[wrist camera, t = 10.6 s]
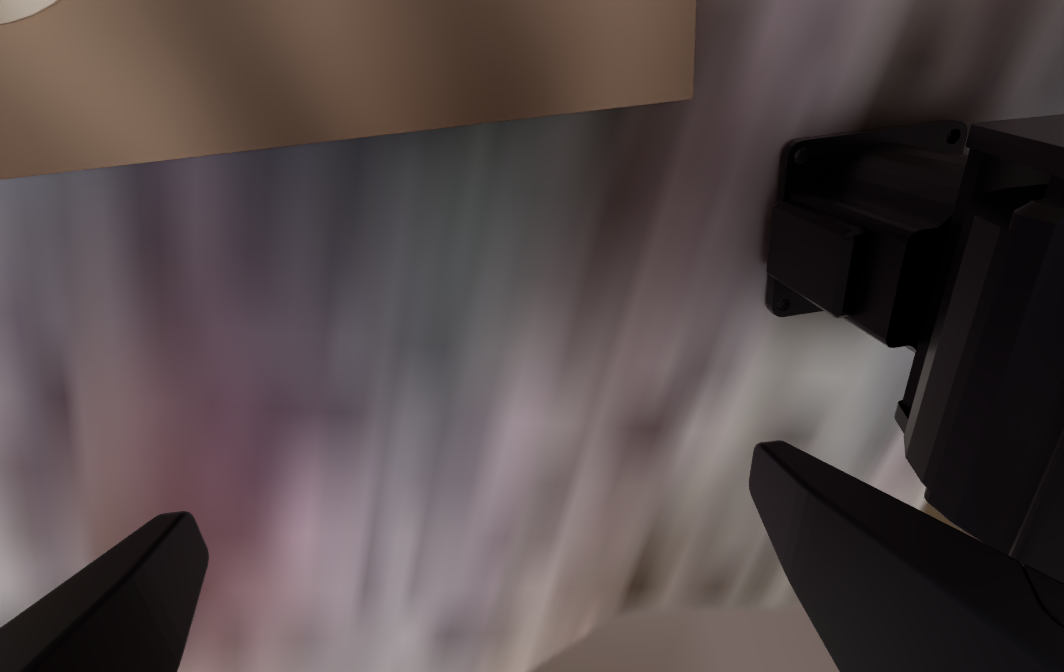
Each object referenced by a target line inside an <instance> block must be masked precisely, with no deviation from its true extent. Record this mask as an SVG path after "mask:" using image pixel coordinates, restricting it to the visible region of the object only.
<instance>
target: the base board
mask: <svg viewBox="0 0 1064 672" xmlns="http://www.w3.org/2000/svg"><path fill="white" fill-rule="evenodd" d="M695 25H696V0H0V179H8V178H17V177H26V176H34V175H43V174H51V173H60V172H69V171H77V170H86V169H94V168H103V167H112V166H120V165H129V164H137V163H146V162H155V161H163V160H172V159H181V158H189V157H198V156H206V155H215V154H224V153H232V152H241V151H249V150H258V149H267V148H275V147H284V146H292V145H301V144H310V143H318V142H327V141H335V140H344V139H353V138H361V137H370V136H379V135H387V134H396V133H404V132H413V131H422V130H430V129H439V128H447V127H456V126H465V125H473V124H482V123H490V122H499V121H508V120H516V119H525V118H533V117H542V116H551V115H559V114H568V113H577V112H585V111H594V110H602V109H611V108H620V107H628V106H637V105H645V104H654V103H663V102H671V101H680V100H688V99H693V88H694V57H695Z"/></svg>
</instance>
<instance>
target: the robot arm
mask: <svg viewBox="0 0 1064 672" xmlns="http://www.w3.org/2000/svg"><path fill="white" fill-rule="evenodd" d="M950 131H951V136H950V138H949V139H948V140H947V139H946V137H947V135H948V133H949V132H950ZM966 137H967V127H966V124H964V123H963V122H961V121H951V120H945V121H936V122H928V123H920V124H912V125H904V126H896V127H888V128H880V129H872V130H864V131H856V132H848V133H839V134H831V135H823V136H815V137H807V138H799V139H795V140H792V141H790V142H789V143H788V144H787V145H786V146H785V148H784V149H783V152H782V156H781V166H780V176H779V185H778V195H777V203H776V204H775V206H774V207H773V212H772V222H771V232H770V243H769V253H768V263H767V272H768V273H769V284H768V293H767V308H768V310H769V311H770V312H772V313H773V314H774V315H776V316H778V317H786V316H793V315H799V314H806V313H813V312H819V311H825V312H827V313H829V314H830V315H832V316H833V317H835V318H841V317H842V318H844V319H845V320H847V321H849V322H850V323H852V324H853V325H855V326H856V327H858V328H860V329H861V330H863V331H864V332H866V333H867V334H869V335H871V336H872V337H874V338H875V339H877V340H878V341H880V342H882V343H883V344H885V345H886V346H888V347H891V348H895V347H902V346H905V347H907V348H908V349H910V350H911V351H913V352H915V356H914V360H913V364H912V368H911V371H910V375H909V379H908V383H907V386H906V390H905V394H904V397H903V400H901V401H899V402H898V405H897V408H896V412H895V416H894V417H895V420H896V421H897V423H898V425H899V426H900V428H901V430H902V431H903V433H904V445H905V457H906V459H907V460H908V462H909V463H910V465H911V466H912V468H913V470H914V471H915V473H916V474H917V476H918V477H919V479H920V480H921V482H922V483H923V484H924V485H925V486H926V490H925V493H924V498H925V499H926V501H927V502H928V503H929V504H930V505H931V506H932V507H934V508H935V509H936V510H937V511H938V512H940V513H941V514H942V515H943V516H944V517H946V518H947V519H948V520H949V521H950V522H952V523H953V524H954V525H955V526H956V527H958V528H959V529H961V530H962V531H964V532H965V533H967V534H968V535H967V534H965V533H963V532H961V531H959V530H957V529H955V528H953V527H951V526H949V525H947V524H945V523H943V522H941V521H939V520H937V519H935V518H934V517H932V516H930V515H928V514H926V513H924V512H922V511H920V510H918V509H916V508H914V507H912V506H910V505H908V504H906V503H904V502H902V501H900V500H898V499H896V498H894V497H892V496H890V495H888V494H886V493H884V492H882V491H880V490H878V489H877V488H875V487H873V486H871V485H869V484H867V483H865V482H863V481H861V480H859V479H857V478H855V477H853V476H851V475H849V474H847V473H845V472H843V471H841V470H839V469H837V468H835V467H833V466H831V465H829V464H827V463H825V462H823V461H821V460H819V459H818V458H816V457H814V456H812V455H810V454H808V453H806V452H804V451H802V450H800V449H798V448H796V447H794V446H792V445H790V444H788V443H786V442H784V441H780V440H777V441H768V442H760V443H758V444H757V445H756V446H755V448H754V451H753V457H752V464H751V471H750V477H749V489H750V493H751V496H752V499H753V501H754V503H755V506H756V508H757V510H758V513H759V515H760V517H761V519H762V522H763V524H764V526H765V529H766V531H767V533H768V536H769V538H770V540H771V542H772V545H773V547H774V549H775V552H776V554H777V556H778V559H779V561H780V563H781V565H782V568H783V570H784V572H785V574H786V576H787V578H788V580H789V582H790V584H791V586H792V588H793V590H794V592H795V593H796V595H797V597H798V599H799V601H800V602H801V604H802V606H803V608H804V609H805V611H806V613H807V615H808V616H809V618H810V620H811V622H812V624H813V625H814V627H815V629H816V631H817V632H818V634H819V636H820V638H821V639H822V641H823V643H824V645H825V647H826V648H827V650H828V652H829V654H830V655H831V657H832V659H833V661H834V662H835V664H836V666H837V668H838V670H839V671H840V672H1064V114H1061V115H1051V116H1041V117H1031V118H1020V119H1010V120H1000V121H990V122H980V123H973V124H971V128H970V132H969V136H968V139H967V143H966V147H968V148H970V151H969V155H963V154H962V153H963V149H964V145H965V141H966ZM799 149H802V156H801V158H800V159H799V160H798V161H795V154H796V152H797V151H798V150H799ZM783 299H785V302H784V304H783V305H782V306H780V307H778V304H779V302H780V301H781V300H783ZM969 535H970V536H969ZM971 536H972V537H971ZM208 561H209V553H208V548H207V546H206V543H205V541H204V539H203V537H202V534H201V532H200V530H199V527H198V525H197V523H196V521H195V518H194V517H193V515H192V514H191V513H189V512H186V511H180V512H172V513H164V514H160V515H158V516H156V517H154V518H153V519H152V520H150V521H149V522H147V523H146V524H145V525H143V526H142V527H140V528H139V529H138V530H136V531H135V532H133V533H132V534H131V535H129V536H128V537H127V538H125V539H124V540H122V541H121V542H120V543H118V544H117V545H115V546H114V547H113V548H111V549H110V550H108V551H107V552H106V553H104V554H103V555H101V556H100V557H99V558H97V559H96V560H94V561H93V562H92V563H90V564H89V565H87V566H86V567H85V568H83V569H82V570H80V571H79V572H78V573H76V574H75V575H73V576H72V577H71V578H69V579H68V580H67V581H65V582H64V583H62V584H61V585H60V586H58V587H57V588H55V589H54V590H53V591H51V592H50V593H48V594H47V595H46V596H44V597H43V598H41V599H40V600H39V601H37V602H36V603H34V604H33V605H32V606H30V607H29V608H27V609H26V610H25V611H23V612H22V613H20V614H19V615H18V616H16V617H15V618H13V619H12V620H11V621H9V622H8V623H7V624H5V625H4V626H2V627H1V628H0V672H177V670H178V668H179V665H180V662H181V659H182V655H183V652H184V649H185V646H186V642H187V638H188V635H189V631H190V628H191V624H192V621H193V617H194V613H195V610H196V606H197V603H198V599H199V596H200V592H201V588H202V585H203V581H204V578H205V574H206V570H207V567H208Z"/></svg>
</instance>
